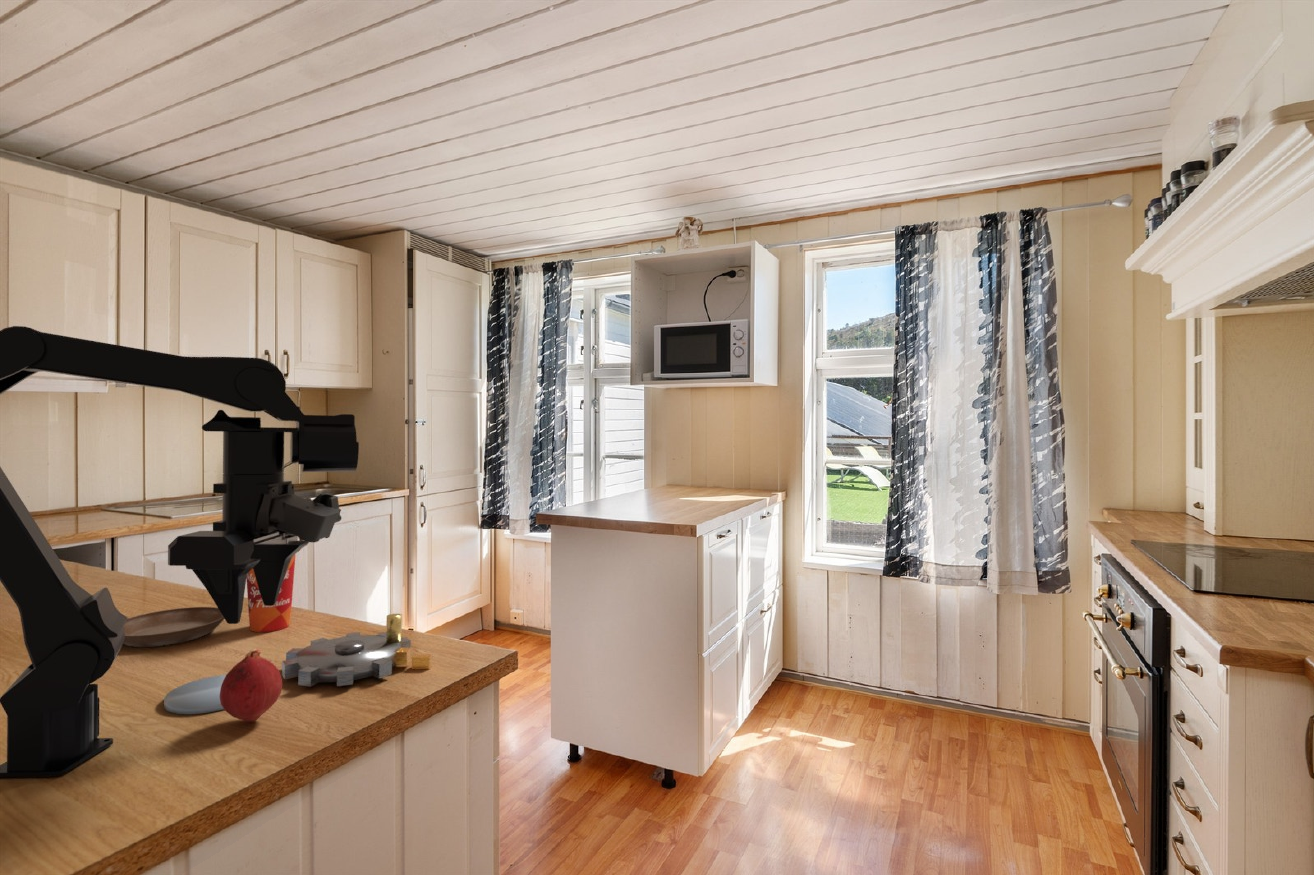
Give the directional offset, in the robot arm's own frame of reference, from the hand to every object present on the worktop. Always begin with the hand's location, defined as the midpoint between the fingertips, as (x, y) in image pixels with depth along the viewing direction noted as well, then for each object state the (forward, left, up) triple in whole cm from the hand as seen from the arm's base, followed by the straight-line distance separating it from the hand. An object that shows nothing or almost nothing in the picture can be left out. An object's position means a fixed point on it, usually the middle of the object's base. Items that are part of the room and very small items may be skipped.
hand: (252, 614), depth 70 cm
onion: (0, 0, -12) cm, 12 cm away
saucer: (+30, +29, -12) cm, 44 cm away
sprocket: (+16, -4, -12) cm, 20 cm away
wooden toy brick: (+16, -7, -12) cm, 21 cm away
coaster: (+7, +8, -12) cm, 16 cm away
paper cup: (+34, +16, -12) cm, 40 cm away
